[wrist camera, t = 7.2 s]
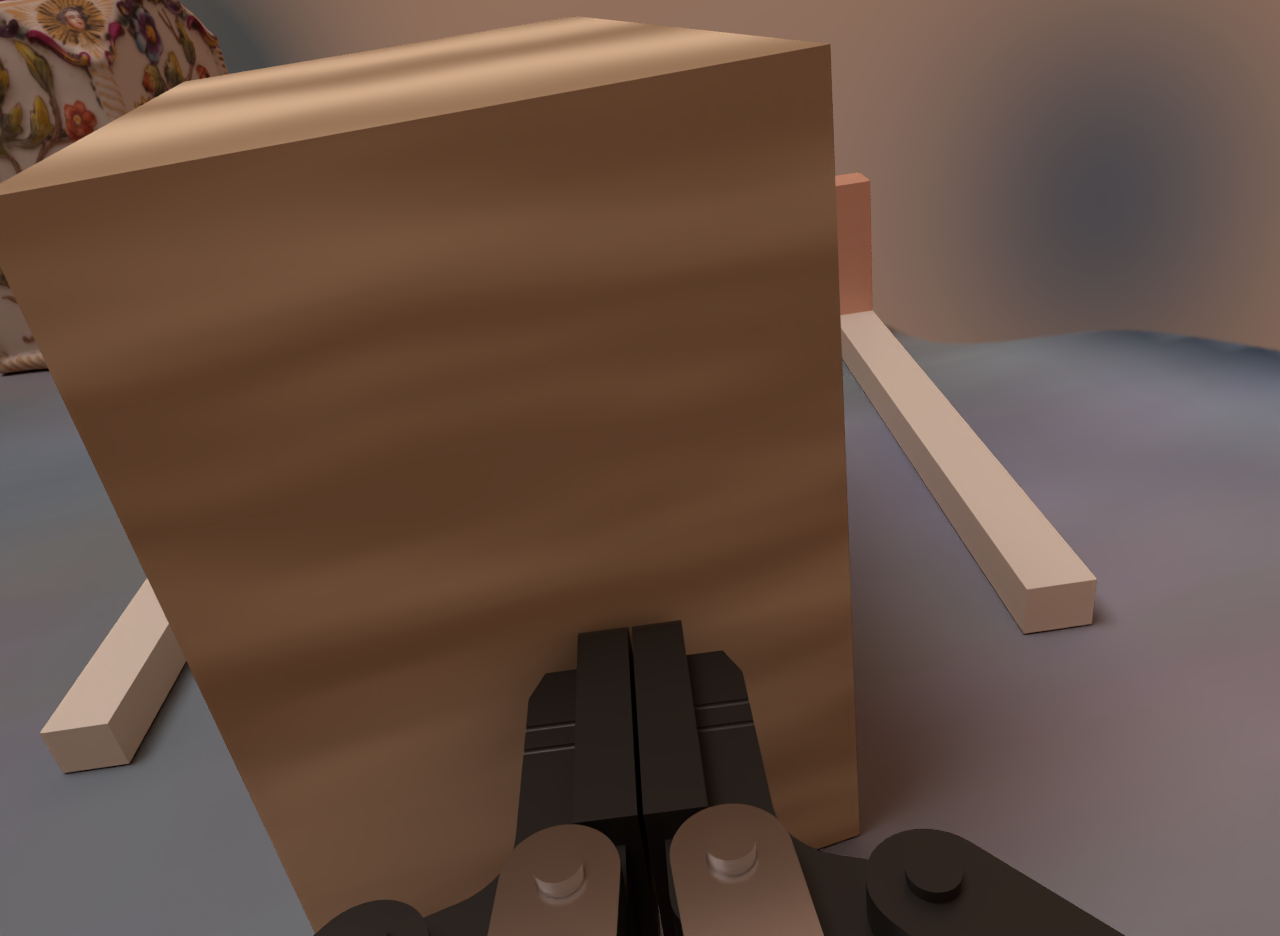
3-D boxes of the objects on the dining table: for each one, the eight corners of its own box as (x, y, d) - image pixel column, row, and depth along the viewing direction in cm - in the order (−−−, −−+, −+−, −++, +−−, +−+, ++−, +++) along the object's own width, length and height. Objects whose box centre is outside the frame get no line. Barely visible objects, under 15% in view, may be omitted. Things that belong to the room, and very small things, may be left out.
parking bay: (1091, 623, 21) (1120, 373, 18) (63, 772, 21) (-70, 550, 18) (862, 326, 38) (859, 172, 35) (290, 412, 38) (239, 266, 35)
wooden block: (859, 834, 17) (830, 43, 11) (350, 1007, 15) (-31, 200, 9) (646, 483, 29) (574, 16, 23) (348, 560, 27) (184, 81, 21)
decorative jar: (301, 278, 56) (191, -69, 47) (213, 353, 46) (53, -71, 37) (113, 301, 57) (-27, -33, 49) (-12, 379, 47) (-217, -25, 39)
